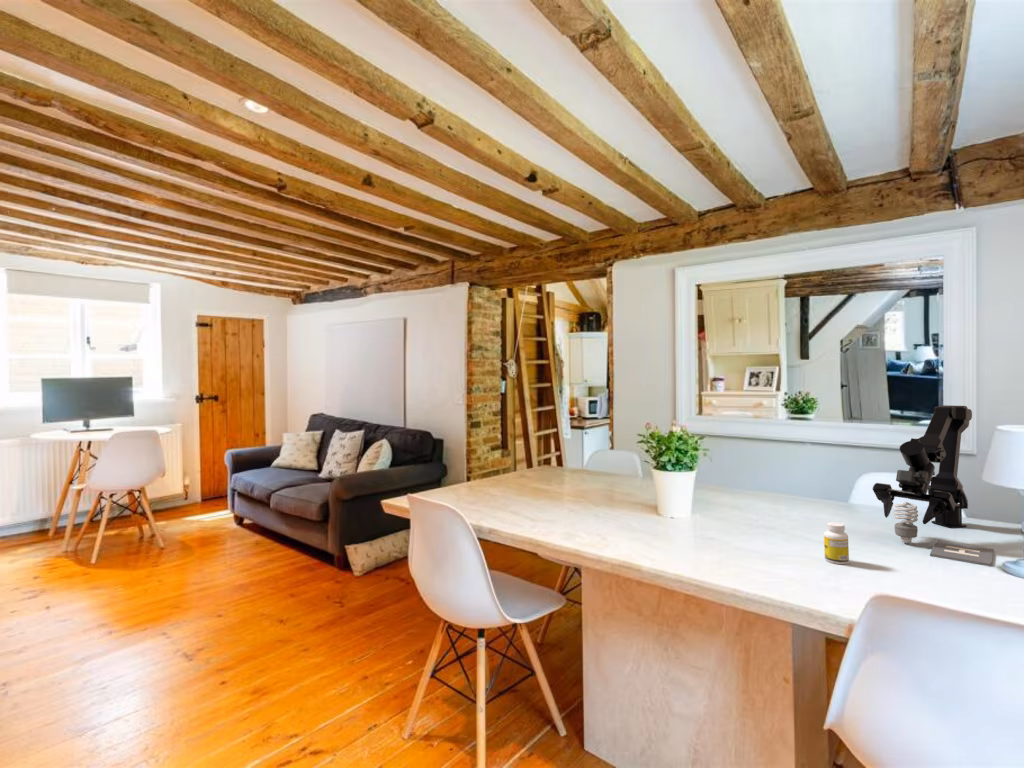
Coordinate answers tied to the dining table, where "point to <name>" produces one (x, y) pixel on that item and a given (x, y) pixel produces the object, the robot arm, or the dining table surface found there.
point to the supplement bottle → (836, 544)
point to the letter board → (962, 552)
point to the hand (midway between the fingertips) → (904, 519)
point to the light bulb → (906, 522)
